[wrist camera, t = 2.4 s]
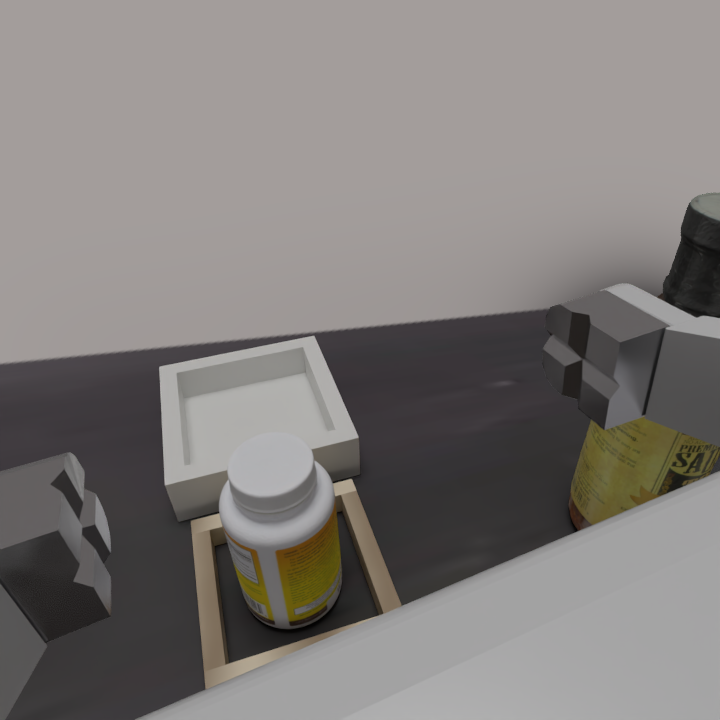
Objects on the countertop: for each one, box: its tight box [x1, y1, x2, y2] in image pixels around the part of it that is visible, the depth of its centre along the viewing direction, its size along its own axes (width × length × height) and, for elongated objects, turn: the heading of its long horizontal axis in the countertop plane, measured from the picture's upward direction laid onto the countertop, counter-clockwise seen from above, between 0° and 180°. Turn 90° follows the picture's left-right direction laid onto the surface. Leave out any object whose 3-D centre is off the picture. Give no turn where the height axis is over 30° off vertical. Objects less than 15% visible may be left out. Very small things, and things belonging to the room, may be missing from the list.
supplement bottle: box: [219, 432, 342, 629], centre depth 29 cm, size 6×6×10 cm
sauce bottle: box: [569, 193, 720, 531], centre depth 29 cm, size 7×6×20 cm
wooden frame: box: [191, 479, 401, 689], centre depth 31 cm, size 10×10×2 cm
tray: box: [159, 336, 360, 522], centre depth 40 cm, size 12×12×4 cm
